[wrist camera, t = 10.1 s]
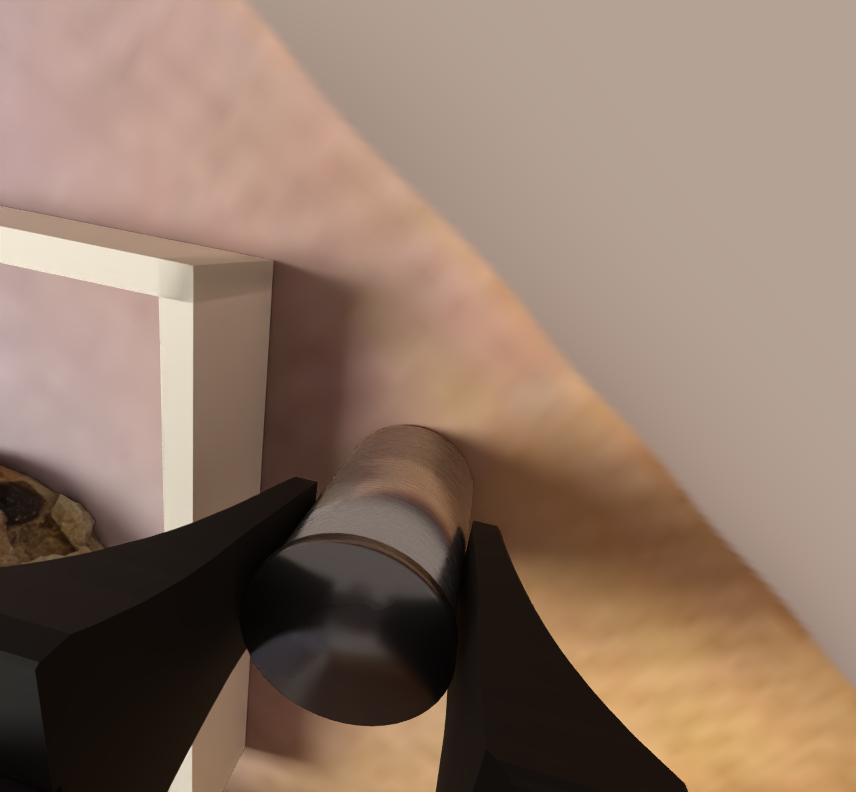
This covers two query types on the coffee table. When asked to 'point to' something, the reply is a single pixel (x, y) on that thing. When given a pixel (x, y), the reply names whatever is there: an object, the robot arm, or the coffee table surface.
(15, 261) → the cream low open frame
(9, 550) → the bread roll
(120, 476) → the coffee table surface
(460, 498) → the grey tin
